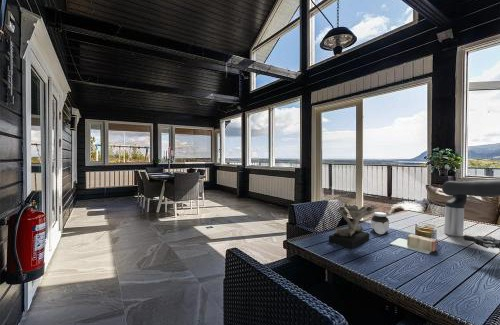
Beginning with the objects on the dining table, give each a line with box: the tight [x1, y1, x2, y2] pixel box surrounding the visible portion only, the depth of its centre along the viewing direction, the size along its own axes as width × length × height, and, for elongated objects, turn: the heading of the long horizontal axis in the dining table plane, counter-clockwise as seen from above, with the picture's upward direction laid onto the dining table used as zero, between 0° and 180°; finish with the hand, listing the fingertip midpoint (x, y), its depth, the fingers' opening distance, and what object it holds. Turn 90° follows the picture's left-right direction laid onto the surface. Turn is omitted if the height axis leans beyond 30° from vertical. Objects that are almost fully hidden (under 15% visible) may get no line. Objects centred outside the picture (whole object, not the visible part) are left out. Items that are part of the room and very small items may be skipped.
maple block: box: [406, 233, 437, 252], centre depth 138 cm, size 5×5×12 cm
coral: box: [328, 203, 378, 250], centre depth 146 cm, size 25×20×22 cm
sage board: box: [389, 237, 433, 255], centre depth 141 cm, size 14×18×1 cm
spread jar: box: [370, 211, 390, 235], centre depth 165 cm, size 12×11×12 cm
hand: (463, 237), depth 125 cm, fingers closed
